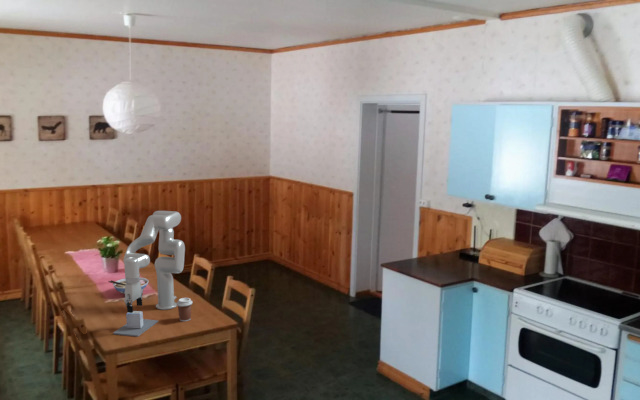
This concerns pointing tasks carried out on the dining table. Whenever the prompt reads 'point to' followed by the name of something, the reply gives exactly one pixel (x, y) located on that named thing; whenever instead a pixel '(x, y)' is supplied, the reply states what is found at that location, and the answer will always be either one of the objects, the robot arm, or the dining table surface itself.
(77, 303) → the dining table surface
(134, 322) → the medicine box
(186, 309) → the coffee cup
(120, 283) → the ramen bowl
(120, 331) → the mat
